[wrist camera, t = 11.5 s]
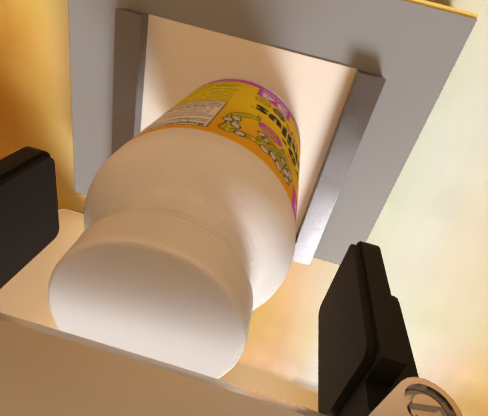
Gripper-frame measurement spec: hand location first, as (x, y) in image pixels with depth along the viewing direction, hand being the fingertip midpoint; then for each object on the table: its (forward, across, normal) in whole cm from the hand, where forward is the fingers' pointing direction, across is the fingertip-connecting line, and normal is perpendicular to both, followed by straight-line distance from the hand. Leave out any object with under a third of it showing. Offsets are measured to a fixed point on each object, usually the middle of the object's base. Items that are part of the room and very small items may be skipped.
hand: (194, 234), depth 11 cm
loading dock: (+12, +1, 0) cm, 12 cm away
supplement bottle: (+9, 0, 0) cm, 9 cm away
